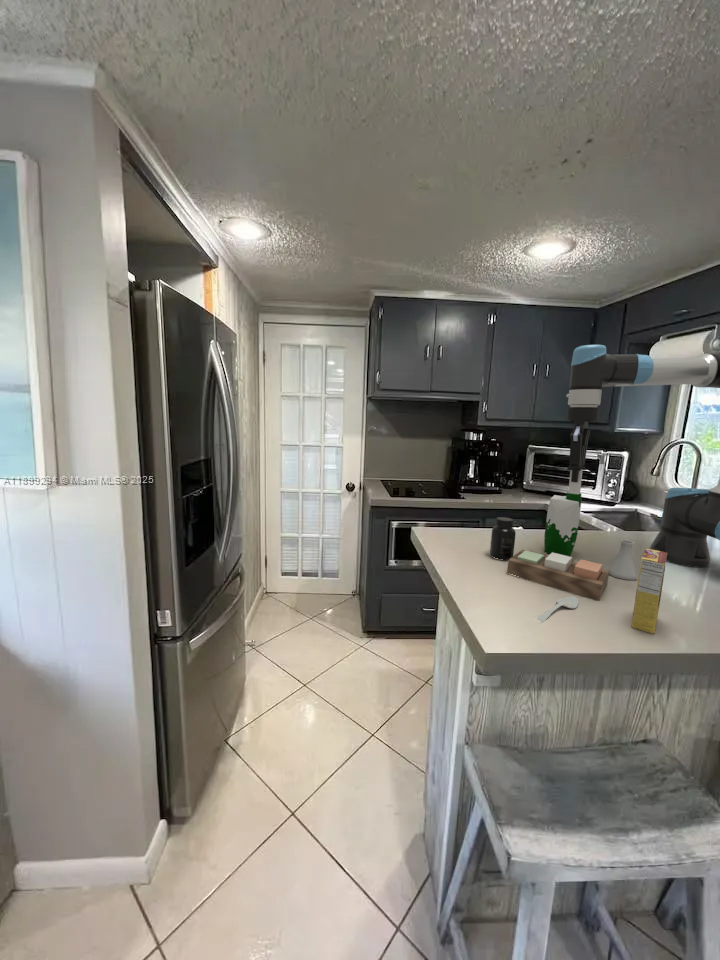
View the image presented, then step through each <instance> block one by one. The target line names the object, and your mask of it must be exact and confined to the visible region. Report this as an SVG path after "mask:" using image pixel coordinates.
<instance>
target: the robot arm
mask: <svg viewBox="0 0 720 960" xmlns="http://www.w3.org/2000/svg"><path fill="white" fill-rule="evenodd" d="M570 366H571V367H570V379H569V390H568V393H567V394H565V395H566V396H565V397H566V398H568V401H567V405H568V406H569V407H567V409H566V415H565V416H566V419H565V420H566V421H567V422H574V423H573V427H572V428H571V429H570V430H571V431H570V434H569V437H570V445H569V446H570V447H569V465H568V467H567V469H566V470H569V481H568V482H569V483H568V489H567V490H568V491H567V492H568V493H571V494H580V493H581V489H582V488H581V487H582V478H583V471H586V469H587V467H585V466H586V456H587V452H588V451H587V449H588V445H589V437H590V435H591V428H589V422H591V423H596V422H598V421H599V415H600V408H599V407H598V406H600V405H601V402H602V400H601V399H602V391H603V388H606V387H608V388H610V387H636V386H637V387H638V386H643V387H644V386H670V385H672V386H673V385H692V386H693V387H695V388H714V389H720V352H715V353H703V354H700V355H698V356H696V357H679V358H678V357H677V358H676V357H675V358H652V357H651V356H649V355H648V354H639V353H635V354H629V353H628V354H626V353H625V354H616V353H615V354H612V353H611V354H610V353H607V346H606V345H603V344H585V345H580V346H578V347H576V348H575V349H573V353H572V359H571V364H570ZM663 504H664V505H663V511H662V516H661V522H660V528H659V531H658V533H657V535H656V536H655V537H654V539H653V541H652V542H651V543H650V546H649V549H651V550H657V551H662V552H666V553H667V558H666V562H667V563H668V562H669V563H671V564H672V563H673V564H675V565H681V566H687V567H693V566H698V567H697V568H704V567H703V566H706V567H709V566H710V562H711V555H710V550H709V545H708V541H707V538H708V537H711V538H713V539H716V540H718V541H720V478H719V479H718V483H717V485H716V486H714V487H712V488H695V487H694V488H693V487H670V488H669V489H668V490H667V491H666V496H665V498H664V503H663ZM708 565H709V566H708Z"/></svg>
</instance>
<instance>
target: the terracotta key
mask: <svg viewBox="0 0 720 960" xmlns="http://www.w3.org/2000/svg"><path fill="white" fill-rule="evenodd" d="M576 563H577V564H576V566H575V569H574V575H578V576H582V577H586V578H589V579H593V580H597V581H598V579H599V577H600V576H601V570H602V569H603V563H598V562H594V561H589V560H585V559H579V560H578V562H576Z"/></svg>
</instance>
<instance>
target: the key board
mask: <svg viewBox="0 0 720 960" xmlns="http://www.w3.org/2000/svg"><path fill="white" fill-rule="evenodd" d="M525 550H526V551H528V550H527V549H521V550H520V551H518V552H517V553H515V555H514V554H513V557H512V558H510V559H509V560H507V562H508V563H507V571H506V574H507V573H510V574H513V575H516V576H519V577H518V578H520V577H522V578H521V579H523V578H524V579H523V580H527V579H528V580H527V581H530V580H531V582H534V583H538V584H541V585H545V586H548V587H552V588H555V589H558V590H561V591H565V592H569V593H572V594H575V595H579V596H581V597H586V598H589V599H592V600H596V601H601V599H602V596H603V594H604V592H605V591H606V588H607V586H608V584H609V583H608V582H609V576H610V574H609V571H608V570H607V569H603V568H602V570H601V576H600V577H599V579H598V581H597V580H593V579H589V578H586V577H582V576H578V575H574V569H575V566H576V564H577V563H578V562H575V561H572V563H571V567H570V568H569V569H568V571H567V572H563V571H559V570H555V569H552V568H548V567H544V565H545V559H546V558H547V557H548V556H549V554H548V555H547V554H545V553H544V554H543V553H540V552H534V551H533V552H534V553H538V554H542V555H544V558H543V560H542V561H541V562H540V563H538V564H533V563H529V562H525V561H521V560H518V559H517V557H518V556H519V555H520V554H522V553H523V552H524V551H525ZM529 551H530V552H532V551H531V550H529ZM513 575H512V576H513ZM516 576H515V577H516Z"/></svg>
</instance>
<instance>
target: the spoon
mask: <svg viewBox="0 0 720 960" xmlns="http://www.w3.org/2000/svg"><path fill="white" fill-rule="evenodd" d="M556 603H557V604H555V606H554V607H552V608H549V609H548V610H546V611H545V612H543V613H541V614H540V615H537V616H536V617H537V620H539V621H541V623H543V622H542V621H544V622H545V621H546V620H548V618H549V617H550V616H551V615H552V614H553V612H555V611H556V610H557V609H559V608H560V607H564V608H568V609H576V608H577V607H579V600H578V598H577V597H576V596H565V597H563V598H560V599H557V600H556ZM566 604H569V605H571V606H568V605H566Z"/></svg>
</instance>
